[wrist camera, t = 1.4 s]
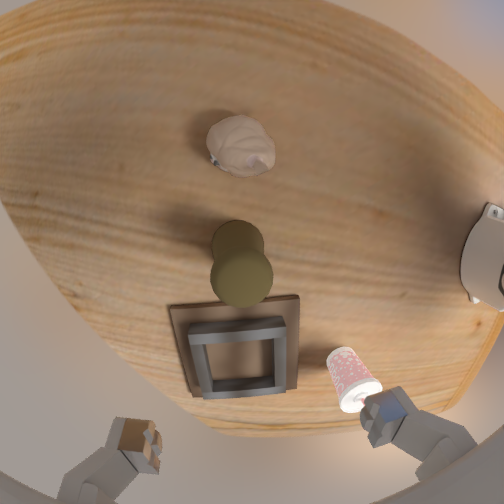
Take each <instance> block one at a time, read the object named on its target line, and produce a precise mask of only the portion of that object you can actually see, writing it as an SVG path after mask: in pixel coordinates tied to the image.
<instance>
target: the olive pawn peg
mask: <svg viewBox="0 0 504 504" xmlns="http://www.w3.org/2000/svg"><path fill="white" fill-rule="evenodd" d="M212 252H213V256H214V260H215V261H214V263H213V266H212V269H211V274H210V282H211V285H212V288H213V291H214V293H215V294H216V295H217V297H218V298H219V299H220V300H221V301H223V302H224V303H226V304H227V305H230V306H233V307H236V308H246V307H250V306H254V305H256V304H258V303H259V302H261V301H262V300H263V299H264V298H265V297H266V296H267V295H268V294H269V291H270V289H271V287H272V283H273V271H272V267H271V264H270V262H269V261H268V259H267V258H266V256H265V255H264V241H263V237H262V235H261V233H260V231H259V230H258V229H257V228H256V227H255V226H254V225H252V224H251V223H248V222H246V221H239V220H234V221H231V222H227V223H225V224H224V225H222V226H221V227H220V228H219V229H218V230H217V231H216V233H215V234H214V237H213V240H212Z"/></svg>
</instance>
